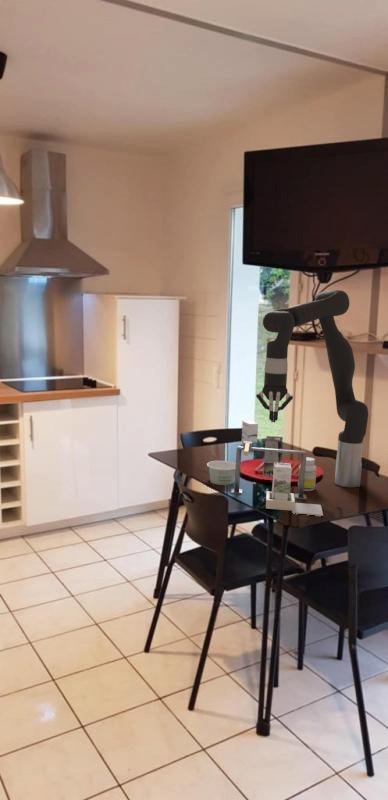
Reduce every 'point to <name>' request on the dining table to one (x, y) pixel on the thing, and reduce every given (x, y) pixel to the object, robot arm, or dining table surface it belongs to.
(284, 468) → the syrup box
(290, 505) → the socket
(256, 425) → the ink box
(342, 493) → the dining table surface
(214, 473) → the food container
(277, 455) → the coffee box
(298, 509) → the pad
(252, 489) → the dining table surface
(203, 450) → the dining table surface
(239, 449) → the latch rail
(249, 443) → the latch
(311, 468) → the pill bottle
